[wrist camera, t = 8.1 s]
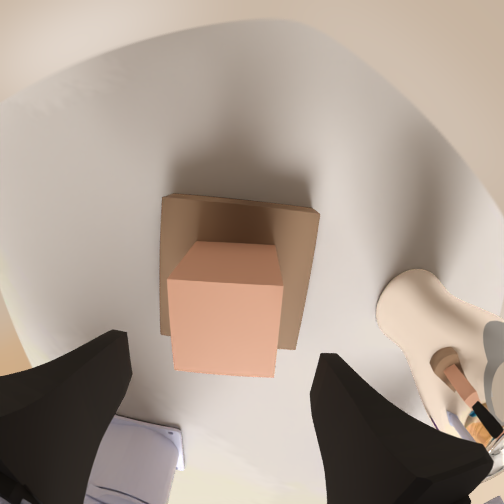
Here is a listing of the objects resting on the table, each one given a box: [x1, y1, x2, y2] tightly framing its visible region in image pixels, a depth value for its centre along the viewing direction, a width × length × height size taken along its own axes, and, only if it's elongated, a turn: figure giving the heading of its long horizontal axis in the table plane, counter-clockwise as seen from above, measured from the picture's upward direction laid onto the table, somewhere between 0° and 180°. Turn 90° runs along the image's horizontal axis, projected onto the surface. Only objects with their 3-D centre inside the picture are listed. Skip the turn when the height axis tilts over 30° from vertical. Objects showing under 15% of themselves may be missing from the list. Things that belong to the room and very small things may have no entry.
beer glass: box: [376, 269, 504, 483], centre depth 14 cm, size 7×7×15 cm
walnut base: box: [160, 194, 320, 350], centre depth 19 cm, size 9×9×3 cm
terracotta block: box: [167, 241, 284, 378], centre depth 15 cm, size 4×4×6 cm
